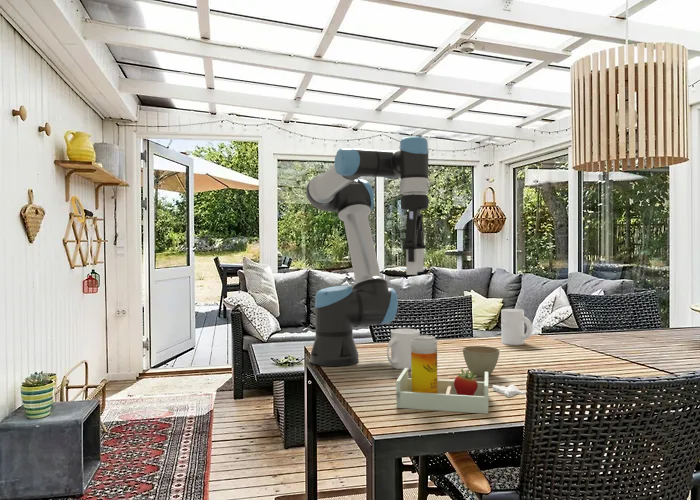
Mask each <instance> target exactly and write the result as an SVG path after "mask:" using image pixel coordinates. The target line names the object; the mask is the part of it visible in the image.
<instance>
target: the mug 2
mask: <svg viewBox="0 0 700 500" xmlns="http://www.w3.org/2000/svg"><path fill="white" fill-rule="evenodd" d="M500 313H501V314H500V317H501V318H500V319H501V322H500V324H501V325H500V328H501V330H500V331H501V344H503V345H509V346H510V345H511V346H512V345H513V346H520V345H524V344H525V340H527V339H529V338H531V336H532V334H533V332H534V331H533V330H534V326H533V323H532V321H531V320H530V319H529V318H528V317H527V316H525V310H524V309H520V308H502V309H501V311H500ZM525 325H526V332H525Z"/></svg>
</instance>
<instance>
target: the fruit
mask: <svg viewBox="0 0 700 500" xmlns="http://www.w3.org/2000/svg"><path fill="white" fill-rule="evenodd" d="M460 370H461V371H460V372H461V373H459V372H458V373H457V376H456V377H455V378H454V387H455V389H456V392H457V394H458V395H470V396H474V393H475V391H476V390H477V387H478V384H477V382H478V381H477V380H476V377H478V376H477V375H473V374H472V373H473V372H472V371H471V372H470V370H469V369H467V370H466V372H465V371H464V369H463V368H461V369H460Z"/></svg>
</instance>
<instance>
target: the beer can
mask: <svg viewBox="0 0 700 500" xmlns="http://www.w3.org/2000/svg"><path fill="white" fill-rule="evenodd" d="M410 378H411V392H420V393H437V380H438V341H437V339H436V336H434V335H429V334H420V335H416V336H413V337H412V340H411V369H410ZM437 394H438V393H437Z"/></svg>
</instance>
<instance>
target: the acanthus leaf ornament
mask: <svg viewBox="0 0 700 500" xmlns="http://www.w3.org/2000/svg"><path fill="white" fill-rule="evenodd" d="M492 390H493V392H497V393H500V394H504V396H505V397H507V398H510V397H513V396H516V395H520V394H521V395H527V394H526V391H527V390H523V391H522V390H520V389H519V388H517V386H516V385H515V384H509V385H508V386H504V385H498V384H497V385H495V384H492Z"/></svg>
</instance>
